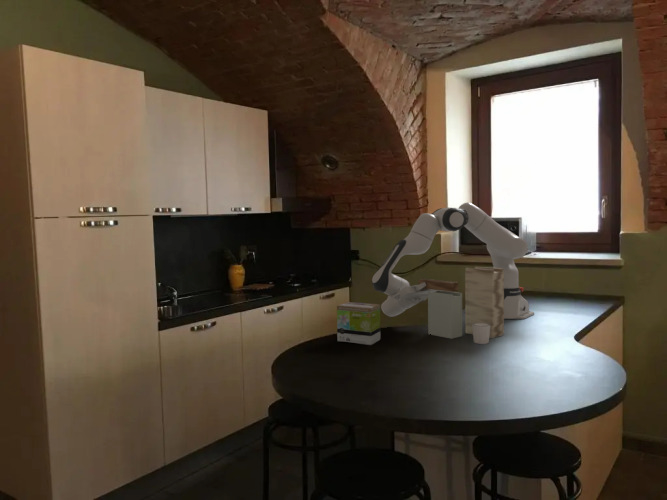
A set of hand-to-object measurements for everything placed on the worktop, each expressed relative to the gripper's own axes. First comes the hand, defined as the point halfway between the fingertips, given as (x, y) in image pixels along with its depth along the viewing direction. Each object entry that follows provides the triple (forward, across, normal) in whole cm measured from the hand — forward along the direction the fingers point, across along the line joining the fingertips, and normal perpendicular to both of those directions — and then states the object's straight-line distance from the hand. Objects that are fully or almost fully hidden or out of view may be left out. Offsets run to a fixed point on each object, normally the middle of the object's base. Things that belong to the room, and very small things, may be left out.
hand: (429, 283), depth 226 cm
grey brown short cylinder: (+11, 0, +31) cm, 33 cm away
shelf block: (+5, +13, +27) cm, 30 cm away
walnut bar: (+2, 0, +4) cm, 5 cm away
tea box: (-19, -32, +14) cm, 40 cm away
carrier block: (-4, 0, +22) cm, 22 cm away
